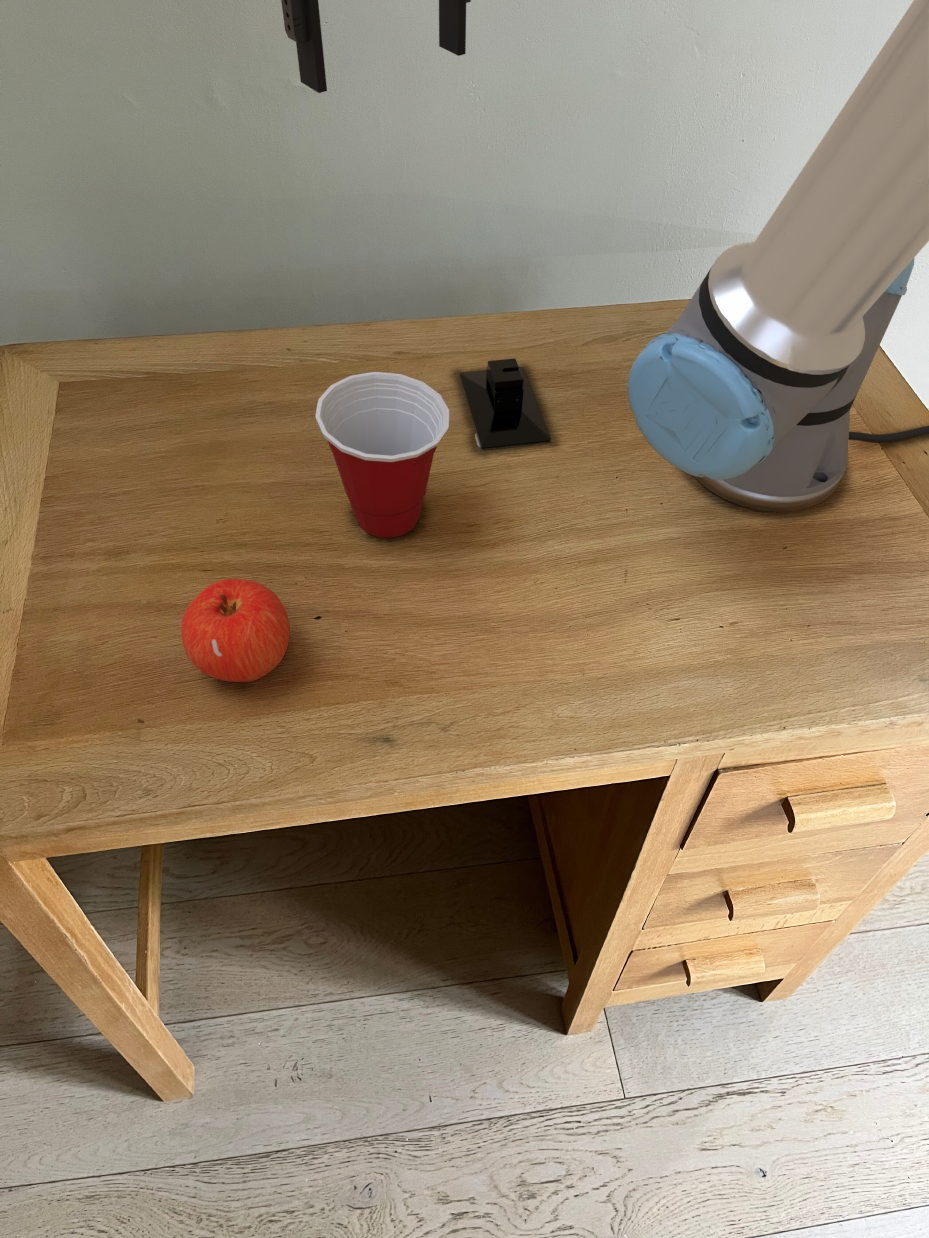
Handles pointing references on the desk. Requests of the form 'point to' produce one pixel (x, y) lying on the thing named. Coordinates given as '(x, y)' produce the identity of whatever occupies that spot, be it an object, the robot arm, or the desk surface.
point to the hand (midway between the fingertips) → (385, 68)
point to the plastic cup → (383, 445)
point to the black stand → (503, 406)
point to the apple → (235, 630)
